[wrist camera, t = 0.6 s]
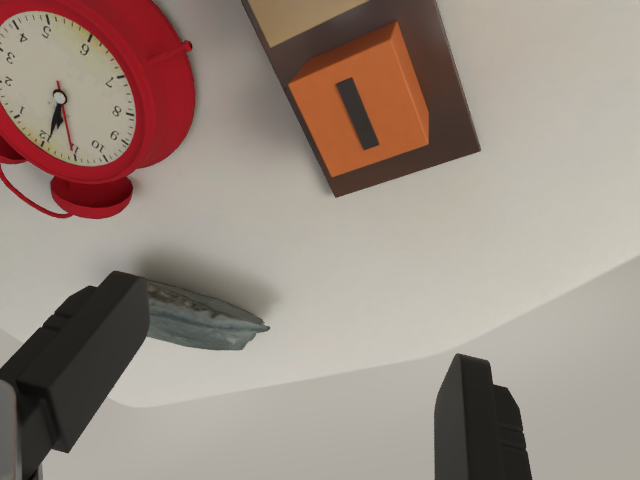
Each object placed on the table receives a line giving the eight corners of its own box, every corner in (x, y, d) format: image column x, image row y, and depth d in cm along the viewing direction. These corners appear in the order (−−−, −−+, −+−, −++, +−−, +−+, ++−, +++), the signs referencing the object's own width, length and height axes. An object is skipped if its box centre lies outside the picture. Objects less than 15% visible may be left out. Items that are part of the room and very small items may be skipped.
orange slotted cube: (307, 60, 23) (286, 84, 19) (397, 20, 21) (390, 38, 18) (344, 144, 25) (330, 179, 21) (429, 113, 23) (429, 146, 20)
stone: (282, 351, 37) (280, 280, 29) (262, 400, 34) (254, 337, 27) (157, 311, 38) (123, 233, 31) (130, 355, 36) (85, 282, 28)
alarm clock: (218, 63, 21) (61, 294, 26) (246, 56, 26) (113, 246, 31) (-6, -121, 18) (-130, 173, 23) (78, -85, 24) (-36, 145, 29)
